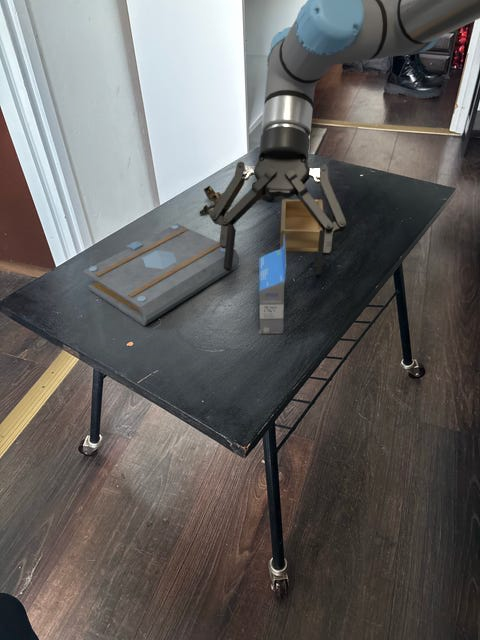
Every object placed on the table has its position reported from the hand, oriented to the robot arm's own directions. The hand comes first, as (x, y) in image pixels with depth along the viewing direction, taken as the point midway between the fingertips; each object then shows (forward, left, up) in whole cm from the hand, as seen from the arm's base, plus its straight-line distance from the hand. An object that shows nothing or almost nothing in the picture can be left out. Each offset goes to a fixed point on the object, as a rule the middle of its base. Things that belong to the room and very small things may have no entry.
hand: (272, 273), depth 71 cm
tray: (-5, -25, -8) cm, 27 cm away
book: (+19, -8, -8) cm, 22 cm away
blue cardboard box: (0, +1, -8) cm, 8 cm away
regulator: (+12, -33, -8) cm, 36 cm away
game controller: (+2, -44, -8) cm, 45 cm away
